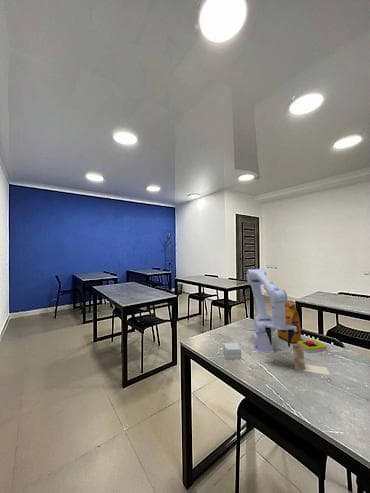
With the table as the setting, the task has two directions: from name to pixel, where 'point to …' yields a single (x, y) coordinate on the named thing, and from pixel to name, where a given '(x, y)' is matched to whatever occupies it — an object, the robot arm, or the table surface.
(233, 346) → the small box
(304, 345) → the emergency button
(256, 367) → the table surface
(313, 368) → the rubber mat
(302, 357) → the wooden block
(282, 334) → the coffee package
